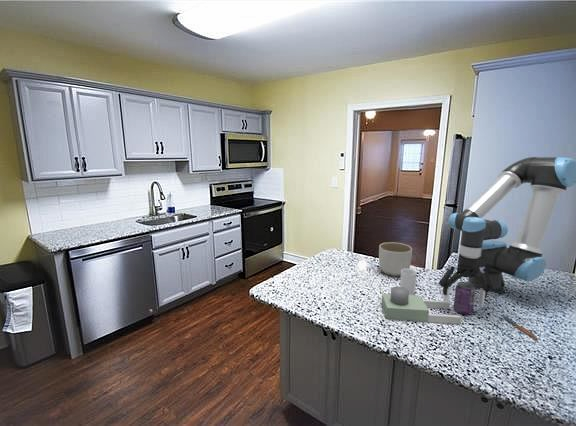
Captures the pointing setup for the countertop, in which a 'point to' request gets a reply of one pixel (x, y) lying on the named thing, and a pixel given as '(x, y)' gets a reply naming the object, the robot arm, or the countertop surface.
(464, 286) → the beverage can
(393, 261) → the planter
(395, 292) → the stepped platform base
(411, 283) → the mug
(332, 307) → the countertop surface
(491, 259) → the robot arm
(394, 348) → the countertop surface
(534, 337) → the knife
